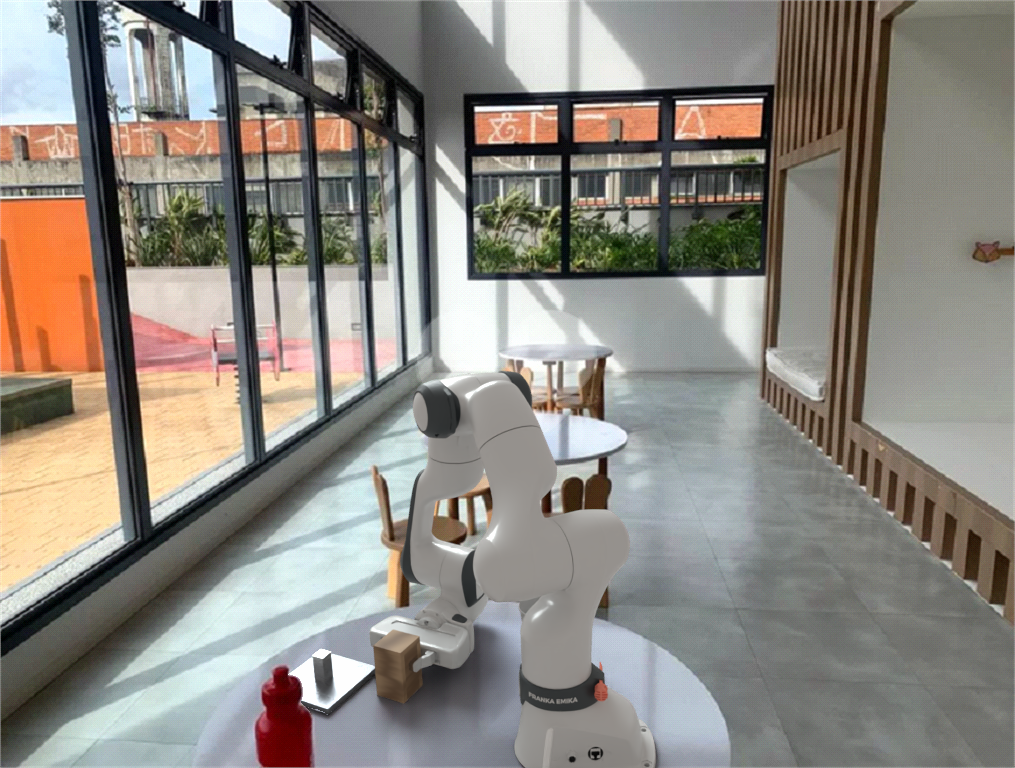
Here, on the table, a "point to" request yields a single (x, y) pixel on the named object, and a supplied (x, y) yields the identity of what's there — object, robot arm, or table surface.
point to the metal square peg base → (330, 679)
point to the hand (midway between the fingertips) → (395, 663)
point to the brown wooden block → (397, 666)
